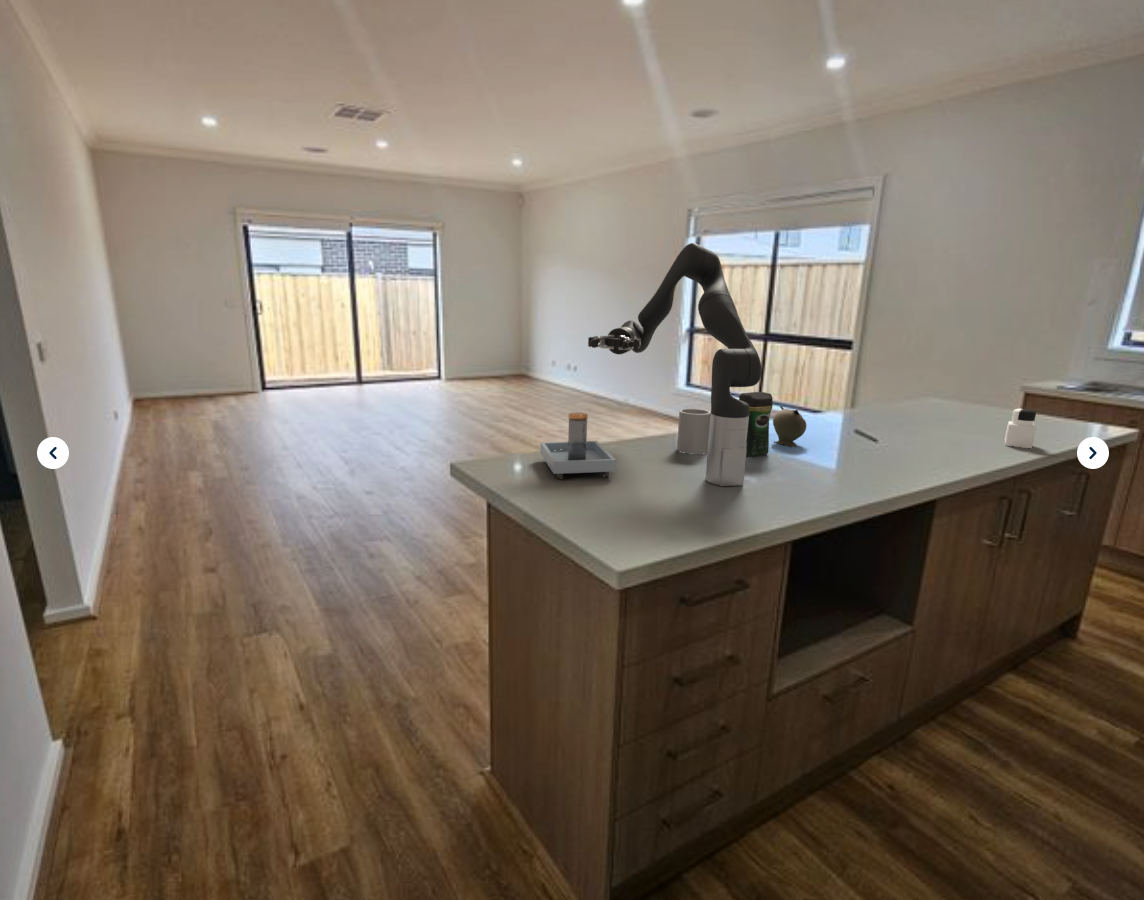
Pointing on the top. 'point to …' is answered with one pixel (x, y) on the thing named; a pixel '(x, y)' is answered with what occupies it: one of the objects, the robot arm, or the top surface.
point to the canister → (577, 436)
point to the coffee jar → (758, 422)
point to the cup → (693, 431)
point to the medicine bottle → (1021, 429)
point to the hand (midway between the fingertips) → (608, 344)
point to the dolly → (595, 460)
